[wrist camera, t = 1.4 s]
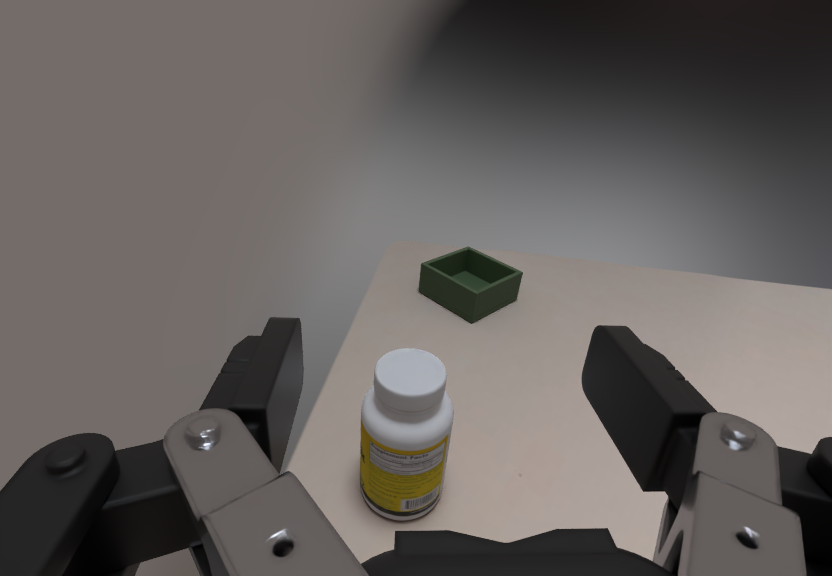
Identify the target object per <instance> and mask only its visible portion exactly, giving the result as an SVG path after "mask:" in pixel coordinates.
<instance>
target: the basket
mask: <svg viewBox="0 0 832 576" xmlns="http://www.w3.org/2000/svg"><path fill="white" fill-rule="evenodd" d="M522 274H523V272H521V271H519V270H517V269H515V268H513V267H511V266H509V265H506V264H504V263H502V262H500V261H498V260H496V259H494V258H492V257H489V256H487V255H485V254H483V253H481V252H479V251H477V250H475V249H473V248H470V247H466V248H463V249H460V250H457V251H455V252H452V253H449V254H446V255H444V256H441V257H438V258H435V259H432V260H430V261H427V262H425V263H422V264H421V272H420V282H419V292H420V293H422V294H424V295H425V296H427V297H429V298H430V299H432V300H434V301H435V302H437V303H439V304H440V305H442V306H444V307H445V308H447V309H449V310H450V311H452V312H454V313H455V314H457V315H459V316H460V317H462V318H464V319H465V320H467V321H468V322H470V323H474V322H475V321H477V320H479V319H481V318H483V317H485V316H487V315H489V314H491V313H492V312H494V311H496V310H498V309H500V308H502V307H504V306H506V305H508V304H509V303H511V302H513V301H515V300H517V295H518V291H519V287H520V283H521V278H522Z"/></svg>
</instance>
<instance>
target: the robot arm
mask: <svg viewBox="0 0 832 576" xmlns="http://www.w3.org/2000/svg"><path fill="white" fill-rule="evenodd" d="M301 334H302V333H301V322H300V319H299V318H276V317H271V318H270V319H269V320H268V322H267V324H266V327H265V329H264V331H263V333H262V335H261V336H247V337H246V338H245V339H243V340H242V341H241V342H239V343H238V344H237V345H235V346H234V347H233V349H232V351H231V353H230V355H229V356H228V358H227V362H225V364H224V366H223V368H222V369H221V373H220V374H219V375H218V377H217V378H216V380H215V382H214V384H213V386H212V387H211V389H210V391H209V393H208V395H207V397H206V399H205V400H204V402H203V404H202V406H201V408H200V409H199V411H197V412H194V413H191V414H189V415H187V416H185V417H183V418H181V419H180V420H178V421H177V422H175V423H174V424H173V425H172V426H171V427H170V428H169V430H168V431H167V433H166V435H165V436H164V439H162V440H160V441H156V442H153V443H149V444H144V445H140V446H135V447H131V448H126V449H122V450H117V451H115V449H114V446H113V443H112V441H111V440H110V439H109V438H108V437H106V436H104V435H101V434H96V433H84V434H77V435H72V436H68V437H65V438H62V439H60V440H57V441H55V442H53V443H50V444H49V445H47V446H45V447H43V448H41V449H40V450H39V451H37V452H36V453H34V454H33V455H32V456H31V457H30V458H28V459H27V460H26V461H25V463H24V464H23V465H22V466H21V467H20V468H19V470H18V471H17V472H16V473H15V474H14V476H13V477H12V478H11V479H10V480H9V482H8V483H7V484H6V485H5V487H4V488H3V489H2V490H1V491H0V576H135V574H136V571H137V569H138V567H139V565H140V562H144V561H147V560H150V559H153V558H157V557H160V556H163V555H167V554H170V553H173V552H176V551H180V550H183V549H186V548H189V550H190V552H191V555H192V557H193V560H194V562H195V564H196V567H197V569H198V571H199V574H200V576H832V437H826V438H823V439H821V440H820V441H819V442H818V444H817V446H816V448H815V449H814V451H813V453H812V454H809V453H805V452H800V451H796V450H791V449H787V448H783V447H778V446H777V445H776V443H775V441H774V440H773V439H772V437H771V436H770V435H769V434H768V433H766V432H765V431H764V430H763V429H761V428H760V427H758V426H757V425H755V424H753V423H752V422H750V421H748V420H746V419H743V418H741V417H738V416H735V415H732V414H727V413H721V412H717V411H716V410H715V409H714V408H713V407H712V406H711V405H710V404H709V403H708V401H707V400H706V399H705V398H704V397H703V396H702V395H701V394H700V393H699V392H698V391H697V390H696V389H695V388H694V387H693V386H692V385H691V384H690V383H689V382H688V381H685V377H684V376H683V375H682V374H681V373H680V372H679V371H678V370H675V367H674V366H673V365H672V364H671V363H670V362H669V361H668V360H667V358H666V357H665V356H664V355H662V354H661V353H659V352H657V351H656V350H654V349H653V348H651V347H649V346H648V345H646V344H643V343H642V342H641V341H640V339H639V338H638V337H637V336H636V335H635V334H634V333H633V332H632V331H631V330H630V329H629V328H628V327H626V326H601V325H600V326H597V327H596V328H595V329H594V331H593V334H592V337H591V341H590V345H589V349H588V352H587V356H586V360H585V364H584V367H583V371H582V387H583V391H584V393H585V395H586V397H587V399H588V400H589V402H590V404H591V405H592V407H593V409H594V410H595V412H596V414H597V415H598V417H599V419H600V420H601V422H602V424H603V425H604V427H605V429H606V430H607V432H608V434H609V435H610V437H611V439H612V440H613V442H614V444H615V445H616V447H617V449H618V450H619V452H620V454H621V455H622V457H623V459H624V460H625V462H626V464H627V465H628V467H629V469H630V470H631V472H632V474H633V475H634V477H635V479H636V480H637V482H638V484H639V485H640V487H641V489H642V490H643V492H651V491H665V492H666V494H667V495H668V499H667V501H666V503H665V506H664V509H663V514H662V518H661V523H660V528H659V533H658V538H657V542H656V547H655V552H654V557H653V561H651V560H649V559H647V558H644V557H642V556H640V555H638V554H635V553H632V552H629V551H626V550H624V549H620V548H617V547H616V545H615V543H614V541H613V539H612V536H611V534H610V532H609V530H608V528H604V529H555V530H552V531H549V532H545V533H542V534H538V535H535V536H531V537H528V538H524V539H521V540H518V541H514V542H510V543H503V542H497V541H493V540H489V539H484V538H480V537H475V536H471V535H467V534H462V533H458V532H453V531H449V530H444V531H395V544H394V550H391V551H387V552H384V553H382V554H379V555H377V556H375V557H372V558H370V559H369V560H367V561H365V562H364V563H362V564H360V563H359V561H358V560H357V559H356V557H355V556H354V554H353V553H352V552H351V550H350V549H349V548H348V546H347V545H346V544H345V542H344V541H343V540H342V538H341V537H340V535H339V534H338V533H337V531H336V530H335V529H334V527H333V526H332V525H331V523H330V522H329V521H328V519H327V518H326V516H325V515H324V514H323V512H322V511H321V510H320V508H319V507H318V506H317V504H316V503H315V501H314V500H313V499H312V497H311V496H310V495H309V493H308V492H307V491H306V489H305V488H304V487H303V485H302V484H301V482H300V481H299V480H298V478H297V477H296V476H295V475H294V474H293V473H291V472H289V471H287V472H285V473H283V474H281V475H279V474H280V470H281V467H282V463H283V459H284V455H285V451H286V448H287V444H288V440H289V436H290V433H291V429H292V425H293V421H294V417H295V414H296V410H297V406H298V402H299V398H300V395H301V391H302V385H303V371H304V367H303V351H302V335H301Z"/></svg>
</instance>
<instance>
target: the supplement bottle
mask: <svg viewBox="0 0 832 576" xmlns="http://www.w3.org/2000/svg"><path fill="white" fill-rule="evenodd" d="M446 378H447V374H446V369H445V367H444V365H443V363H442V362H441V361H440V360H439V359H438V358H437V357H436V356H434V355H433V354H431V353H429V352H426V351H423V350H420V349H412V348H403V349H397V350H394V351H391V352H389V353H387V354H385V355H384V356H382V357H381V358H380V359H379V361H378V362H377V364H376V367H375V374H374V385H373V386H372V387H371V388H370V389H369V391H368V392H367V394H366V395H365V397H364V400H363V403H362V409H361V457H360V485H361V491H362V494H363V496H364V499H365V500H366V502H367V503H368V505H369V506H370V507H371V508H372V509H373V510H374V511H376V512H377V513H379V514H380V515H382V516H384V517H387V518H390V519H394V520H411V519H415V518H418V517H420V516H423V515H424V514H426V513H427V512H429V511H430V510H431V509H432V508H433V507H434V506H435V505H436V503H437V502H438V500H439V498H440V495H441V492H442V487H443V481H444V475H445V469H446V462H447V456H448V449H449V443H450V437H451V430H452V424H453V414H454V412H453V405H452V402H451V399H450V397H449V395H448V394H447V392H446V391H445V386H446Z"/></svg>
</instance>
